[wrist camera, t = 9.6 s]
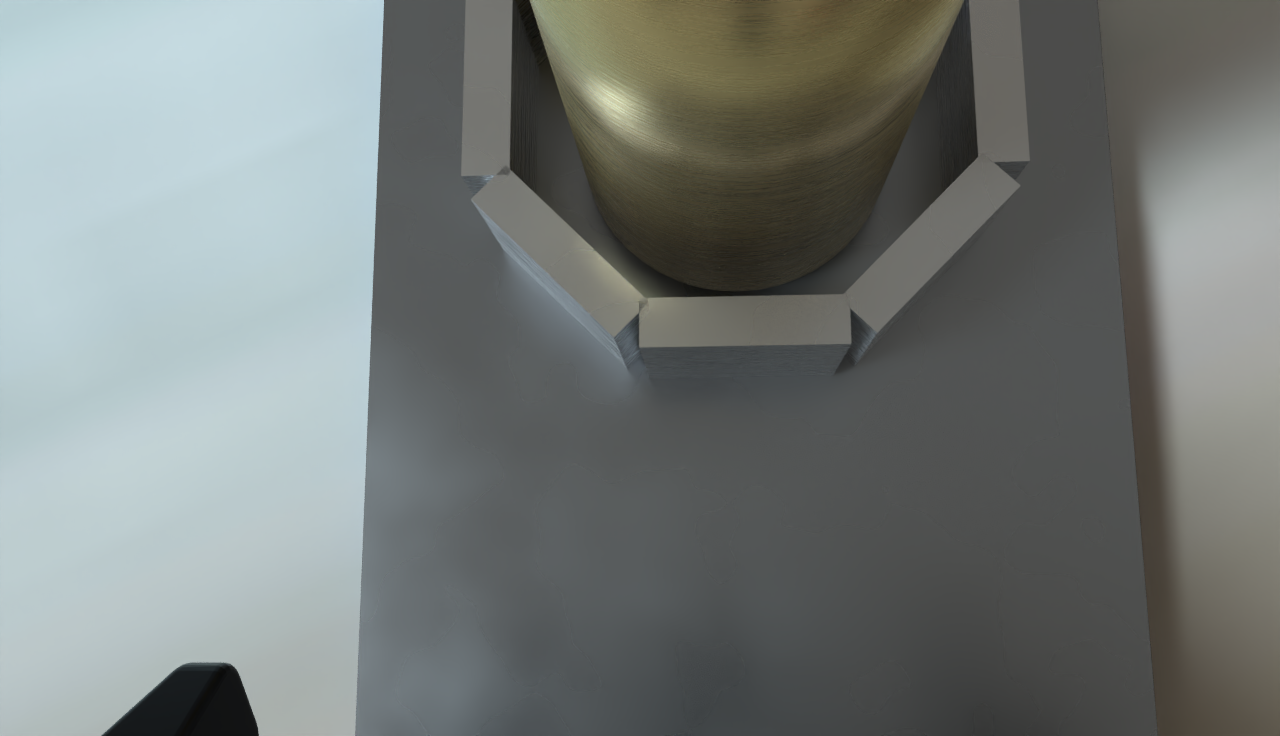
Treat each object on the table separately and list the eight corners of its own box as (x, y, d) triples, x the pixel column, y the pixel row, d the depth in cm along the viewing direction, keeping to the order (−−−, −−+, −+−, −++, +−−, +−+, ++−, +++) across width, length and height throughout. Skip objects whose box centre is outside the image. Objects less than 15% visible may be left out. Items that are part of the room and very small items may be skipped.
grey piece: (1147, 902, 17) (1254, 984, 14) (368, 891, 18) (286, 967, 14) (1071, -65, 20) (1144, -197, 17) (402, -39, 21) (340, -160, 17)
